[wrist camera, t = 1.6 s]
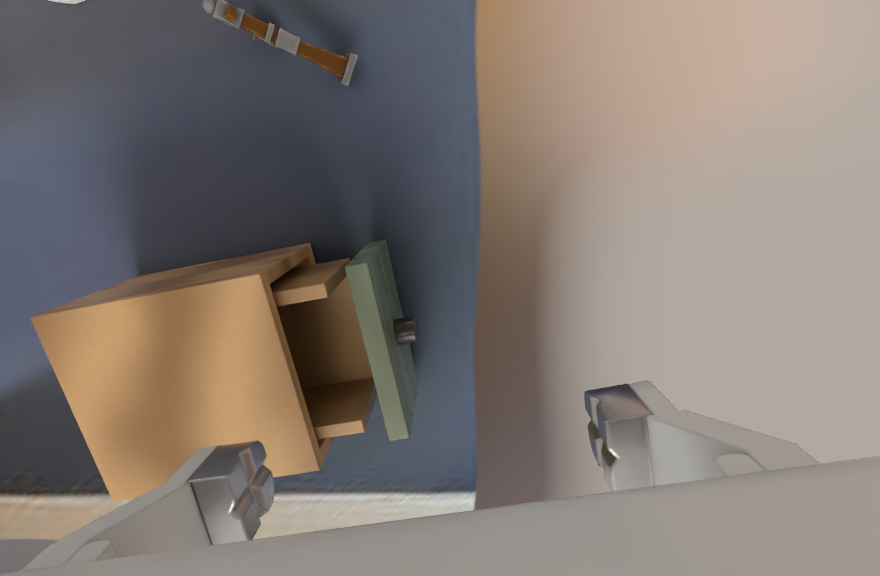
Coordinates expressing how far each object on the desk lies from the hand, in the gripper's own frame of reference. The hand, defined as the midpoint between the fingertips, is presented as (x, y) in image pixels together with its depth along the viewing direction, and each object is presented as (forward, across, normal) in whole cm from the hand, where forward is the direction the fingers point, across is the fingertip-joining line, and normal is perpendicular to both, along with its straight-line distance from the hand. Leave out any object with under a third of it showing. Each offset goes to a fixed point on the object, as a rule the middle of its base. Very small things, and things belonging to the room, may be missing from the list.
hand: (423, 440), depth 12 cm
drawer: (+20, +8, +2) cm, 22 cm away
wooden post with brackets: (+20, +6, -15) cm, 26 cm away
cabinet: (+21, +15, +2) cm, 26 cm away
